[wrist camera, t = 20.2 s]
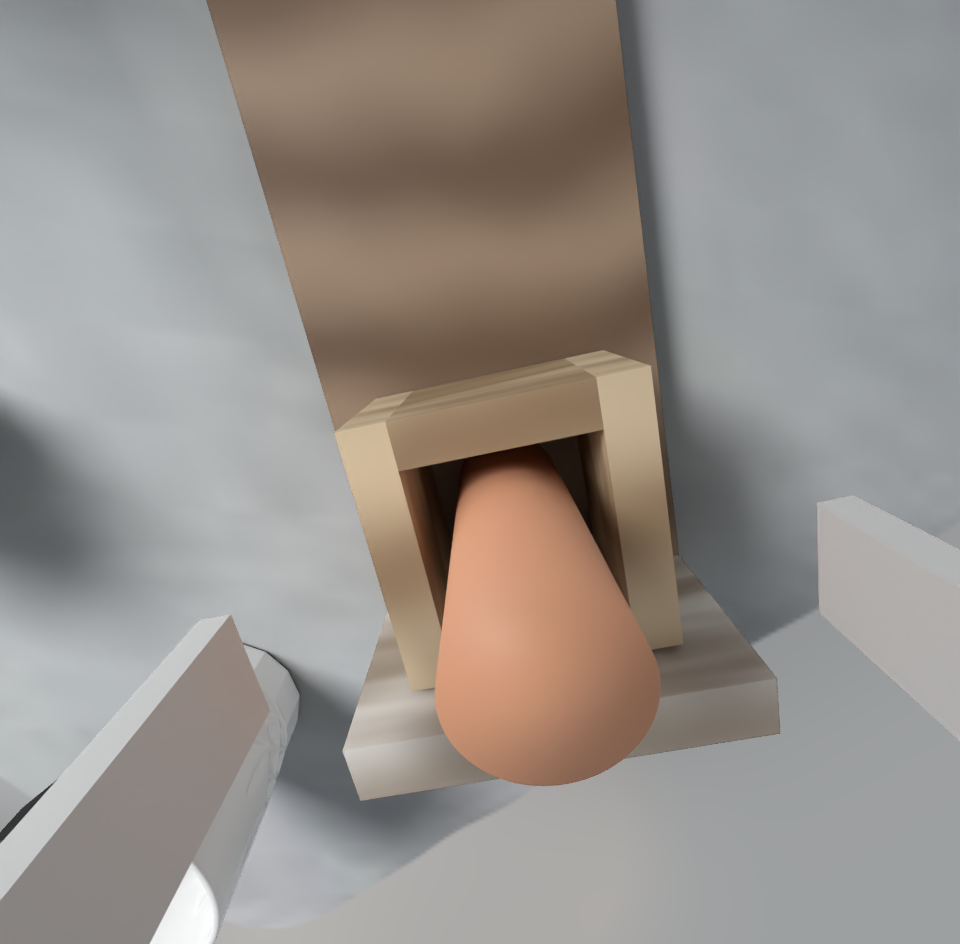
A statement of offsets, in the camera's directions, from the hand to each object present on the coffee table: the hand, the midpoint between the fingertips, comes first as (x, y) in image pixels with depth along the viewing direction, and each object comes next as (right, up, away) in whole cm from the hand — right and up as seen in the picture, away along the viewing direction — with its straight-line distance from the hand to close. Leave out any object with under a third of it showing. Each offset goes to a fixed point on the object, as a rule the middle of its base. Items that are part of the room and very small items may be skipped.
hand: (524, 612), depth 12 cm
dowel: (0, +3, +10) cm, 10 cm away
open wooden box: (0, +3, +10) cm, 10 cm away
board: (-1, +9, +10) cm, 13 cm away
